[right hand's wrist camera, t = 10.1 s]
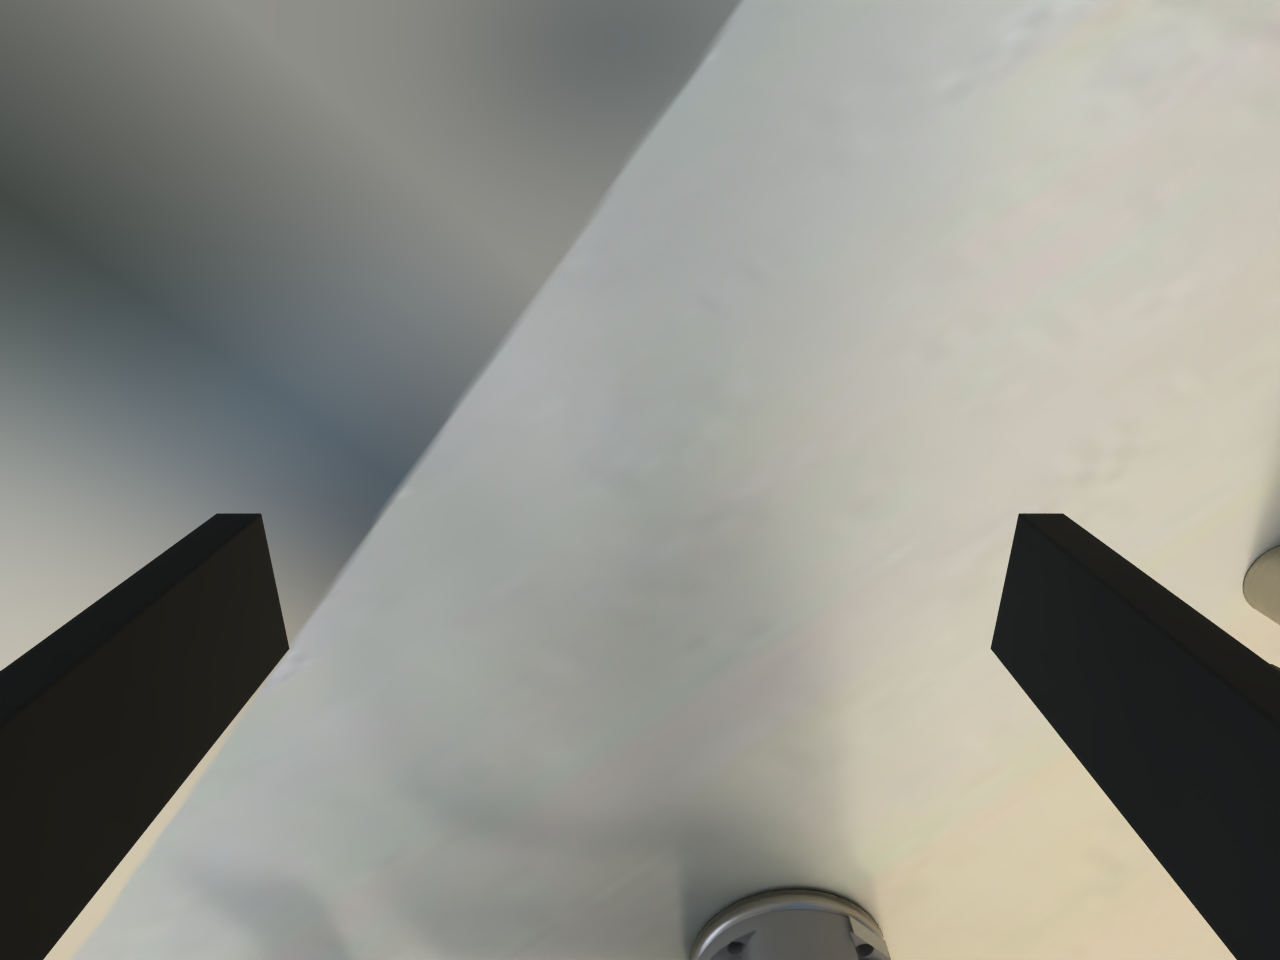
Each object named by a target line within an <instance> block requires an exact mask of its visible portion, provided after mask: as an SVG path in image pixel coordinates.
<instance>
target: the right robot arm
mask: <svg viewBox="0 0 1280 960" xmlns="http://www.w3.org/2000/svg"><path fill="white" fill-rule="evenodd" d="M288 650H289V645H288V640H287V635H286V631H285V626H284V621H283V616H282V611H281V607H280V602H279V597H278V592H277V587H276V583H275V578H274V573H273V568H272V564H271V559H270V554H269V549H268V544H267V540H266V535H265V530H264V525H263V520H262V515H261V514H216V515H214V516H213V517H212V518H210V519H209V520H208V521H206V522H205V523H203V524H202V525H201V526H199V527H198V528H197V529H195V530H194V531H192V532H191V533H190V534H188V535H187V536H186V537H184V538H183V539H181V540H180V541H179V542H177V543H176V544H175V545H173V546H172V547H170V548H169V549H168V550H166V551H165V552H164V553H162V554H161V555H159V556H158V557H157V558H155V559H154V560H153V561H151V562H150V563H148V564H147V565H146V566H144V567H143V568H142V569H140V570H139V571H137V572H136V573H135V574H133V575H132V576H131V577H129V578H128V579H127V580H125V581H124V582H122V583H121V584H120V585H118V586H117V587H116V588H114V589H113V590H111V591H110V592H109V593H107V594H106V595H105V596H103V597H102V598H101V599H99V600H98V601H96V602H95V603H94V604H92V605H91V606H89V607H88V608H87V609H85V610H84V611H83V612H81V613H80V614H79V615H77V616H76V617H74V618H73V619H72V620H70V621H69V622H67V623H66V624H65V625H63V626H62V627H61V628H59V629H58V630H57V631H55V632H54V633H52V634H51V635H50V636H48V637H47V638H46V639H44V640H43V641H41V642H40V643H39V644H37V645H36V646H35V647H33V648H32V649H30V650H29V651H28V652H26V653H25V654H24V655H22V656H21V657H20V658H18V659H17V660H15V661H14V662H13V663H11V664H10V665H8V666H7V667H6V668H4V669H3V670H1V671H0V960H43V959H44V958H45V957H46V955H47V954H48V953H49V952H50V950H51V949H52V948H53V947H54V945H55V944H56V943H57V941H58V940H59V939H60V938H61V936H62V935H63V934H64V933H65V931H66V930H67V929H68V928H69V926H70V925H71V924H72V923H73V921H74V920H75V919H76V918H77V916H78V915H79V914H80V912H81V911H82V910H83V909H84V907H85V906H86V905H87V904H88V902H89V901H90V900H91V899H92V897H93V896H94V895H95V893H96V892H97V891H98V890H99V888H100V887H101V886H102V885H103V883H104V882H105V881H106V880H107V878H108V877H109V876H110V875H111V873H112V872H113V871H114V870H115V868H116V867H117V866H118V864H119V863H120V862H121V861H122V859H123V858H124V857H125V856H126V854H127V853H128V852H129V851H130V849H131V848H132V847H133V845H134V844H135V843H136V842H137V840H138V839H139V838H140V837H141V835H142V834H143V833H144V831H145V830H146V829H147V828H148V826H149V825H150V824H151V823H152V821H153V820H154V819H155V818H156V816H157V815H158V814H159V813H160V811H161V810H162V809H163V807H164V806H165V805H166V804H167V803H168V801H169V800H170V799H171V797H172V796H173V795H174V794H175V792H176V791H177V790H178V789H179V787H180V786H181V785H182V784H183V782H184V781H185V780H186V779H187V777H188V776H189V775H190V773H191V772H192V771H193V770H194V768H195V767H196V766H197V765H198V763H199V762H200V761H201V760H202V758H203V757H204V756H205V754H206V753H207V752H208V751H209V749H210V748H211V747H212V746H213V744H214V743H215V742H216V741H217V739H218V738H219V737H220V736H221V734H222V733H223V732H224V730H225V729H226V728H227V727H228V725H229V724H230V723H231V722H232V720H233V719H234V718H235V717H236V715H237V714H238V713H239V712H240V710H241V709H242V708H243V706H244V705H245V704H246V703H247V701H248V700H249V699H250V698H251V696H252V695H253V694H254V693H255V691H256V690H257V689H258V688H259V686H260V685H261V684H262V682H263V681H264V680H265V679H266V677H267V676H268V675H269V674H270V672H271V671H272V670H273V669H274V667H275V666H276V665H277V664H278V662H279V661H280V660H281V658H282V657H283V656H284V655H285V653H286V652H287V651H288ZM991 650H992V651H993V652H994V653H995V655H996V656H997V657H998V658H999V660H1000V661H1001V662H1002V664H1003V665H1004V666H1005V667H1006V669H1007V670H1008V671H1009V672H1010V674H1011V675H1012V676H1013V677H1014V679H1015V680H1016V681H1017V682H1018V684H1019V685H1020V686H1021V688H1022V689H1023V690H1024V691H1025V693H1026V694H1027V695H1028V696H1029V698H1030V699H1031V700H1032V701H1033V703H1034V704H1035V705H1036V706H1037V708H1038V709H1039V710H1040V712H1041V713H1042V714H1043V715H1044V717H1045V718H1046V719H1047V720H1048V722H1049V723H1050V724H1051V725H1052V727H1053V728H1054V729H1055V730H1056V732H1057V733H1058V734H1059V736H1060V737H1061V738H1062V739H1063V741H1064V742H1065V743H1066V744H1067V746H1068V747H1069V748H1070V749H1071V751H1072V752H1073V753H1074V754H1075V756H1076V757H1077V758H1078V760H1079V761H1080V762H1081V763H1082V765H1083V766H1084V767H1085V768H1086V770H1087V771H1088V772H1089V773H1090V775H1091V776H1092V777H1093V779H1094V780H1095V781H1096V782H1097V784H1098V785H1099V786H1100V787H1101V789H1102V790H1103V791H1104V792H1105V794H1106V795H1107V796H1108V797H1109V799H1110V800H1111V801H1112V803H1113V804H1114V805H1115V806H1116V808H1117V809H1118V810H1119V811H1120V813H1121V814H1122V815H1123V816H1124V818H1125V819H1126V820H1127V821H1128V823H1129V824H1130V825H1131V827H1132V828H1133V829H1134V830H1135V832H1136V833H1137V834H1138V835H1139V837H1140V838H1141V839H1142V840H1143V842H1144V843H1145V844H1146V845H1147V847H1148V848H1149V849H1150V851H1151V852H1152V853H1153V854H1154V856H1155V857H1156V858H1157V859H1158V861H1159V862H1160V863H1161V864H1162V866H1163V867H1164V868H1165V870H1166V871H1167V872H1168V873H1169V875H1170V876H1171V877H1172V878H1173V880H1174V881H1175V882H1176V883H1177V885H1178V886H1179V887H1180V888H1181V890H1182V891H1183V892H1184V894H1185V895H1186V896H1187V897H1188V899H1189V900H1190V901H1191V902H1192V904H1193V905H1194V906H1195V907H1196V909H1197V910H1198V911H1199V912H1200V914H1201V915H1202V916H1203V918H1204V919H1205V920H1206V921H1207V923H1208V924H1209V925H1210V926H1211V928H1212V929H1213V930H1214V931H1215V933H1216V934H1217V935H1218V936H1219V938H1220V939H1221V940H1222V942H1223V943H1224V944H1225V945H1226V947H1227V948H1228V949H1229V950H1230V952H1231V953H1232V954H1233V955H1234V957H1235V958H1236V959H1237V960H1280V668H1279V667H1277V666H1275V665H1273V664H1269V663H1267V662H1266V661H1265V660H1263V659H1262V658H1261V657H1259V656H1258V655H1256V654H1255V653H1254V652H1252V651H1251V650H1250V649H1248V648H1247V647H1245V646H1244V645H1243V644H1241V643H1240V642H1239V641H1237V640H1236V639H1234V638H1233V637H1232V636H1230V635H1229V634H1228V633H1226V632H1225V631H1223V630H1222V629H1221V628H1219V627H1218V626H1217V625H1215V624H1214V623H1213V622H1211V621H1210V620H1208V619H1207V618H1206V617H1204V616H1203V615H1202V614H1200V613H1199V612H1197V611H1196V610H1195V609H1193V608H1192V607H1191V606H1189V605H1188V604H1186V603H1185V602H1184V601H1182V600H1181V599H1180V598H1178V597H1177V596H1175V595H1174V594H1173V593H1171V592H1170V591H1169V590H1167V589H1166V588H1164V587H1163V586H1162V585H1160V584H1159V583H1158V582H1156V581H1155V580H1153V579H1152V578H1151V577H1149V576H1148V575H1147V574H1145V573H1144V572H1143V571H1141V570H1140V569H1138V568H1137V567H1136V566H1134V565H1133V564H1132V563H1130V562H1129V561H1127V560H1126V559H1125V558H1123V557H1122V556H1121V555H1119V554H1118V553H1116V552H1115V551H1114V550H1112V549H1111V548H1110V547H1108V546H1107V545H1105V544H1104V543H1103V542H1101V541H1100V540H1099V539H1097V538H1096V537H1094V536H1093V535H1092V534H1090V533H1089V532H1088V531H1086V530H1085V529H1083V528H1082V527H1081V526H1079V525H1078V524H1077V523H1075V522H1074V521H1073V520H1071V519H1070V518H1068V517H1067V516H1066V515H1064V514H1019V515H1018V520H1017V525H1016V530H1015V535H1014V539H1013V544H1012V549H1011V554H1010V559H1009V563H1008V568H1007V573H1006V578H1005V583H1004V587H1003V592H1002V597H1001V602H1000V607H999V611H998V616H997V621H996V626H995V631H994V635H993V640H992V645H991ZM890 959H891V958H890V955H889V952H888V949H887V946H886V943H885V940H884V939H883V936H882V933H881V931H880V929H879V927H878V926H877V924H876V923H875V922H874V920H873V919H872V918H871V917H870V916H869V915H868V914H867V913H866V912H865V911H863V910H862V909H861V908H859V907H858V906H856V905H855V904H853V903H851V902H849V901H847V900H845V899H843V898H840V897H838V896H835V895H831V894H828V893H823V892H818V891H811V890H798V889H797V890H778V891H772V892H766V893H762V894H758V895H755V896H751V897H748V898H746V899H743V900H741V901H739V902H737V903H735V904H732V905H731V906H729V907H727V908H726V909H724V910H722V911H721V912H720V913H718V914H717V915H716V916H715V917H713V918H712V919H711V920H710V921H709V922H708V923H707V924H706V925H705V926H704V928H703V929H702V930H701V932H700V933H699V935H698V937H697V938H696V941H695V943H694V945H693V949H692V953H691V960H890Z"/></svg>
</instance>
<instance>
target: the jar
mask: <svg viewBox="0 0 1280 960" xmlns="http://www.w3.org/2000/svg"><path fill="white" fill-rule="evenodd" d="M1243 590H1244V595H1245V598H1246V600H1247V602H1248V603H1249V604H1250V605H1251V606H1252V607H1253V608H1254V609H1256V610H1257V611H1259V612H1260V613H1262V614H1264V615H1265V616H1267V617H1268V618H1270V619H1271V620H1273V621H1274V622H1276V623H1277V624H1279V625H1280V546H1277V547H1275V548H1273V549H1271V550H1269V551H1268V552H1266V553H1265V554H1263V555H1262V556H1261V557H1260V558H1259V559H1258V560H1257V561H1256V562H1255V563H1254V564H1253V565H1252V566H1251V568H1250V569H1249V571H1248V573H1247V575H1246V577H1245V580H1244V587H1243Z"/></svg>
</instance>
